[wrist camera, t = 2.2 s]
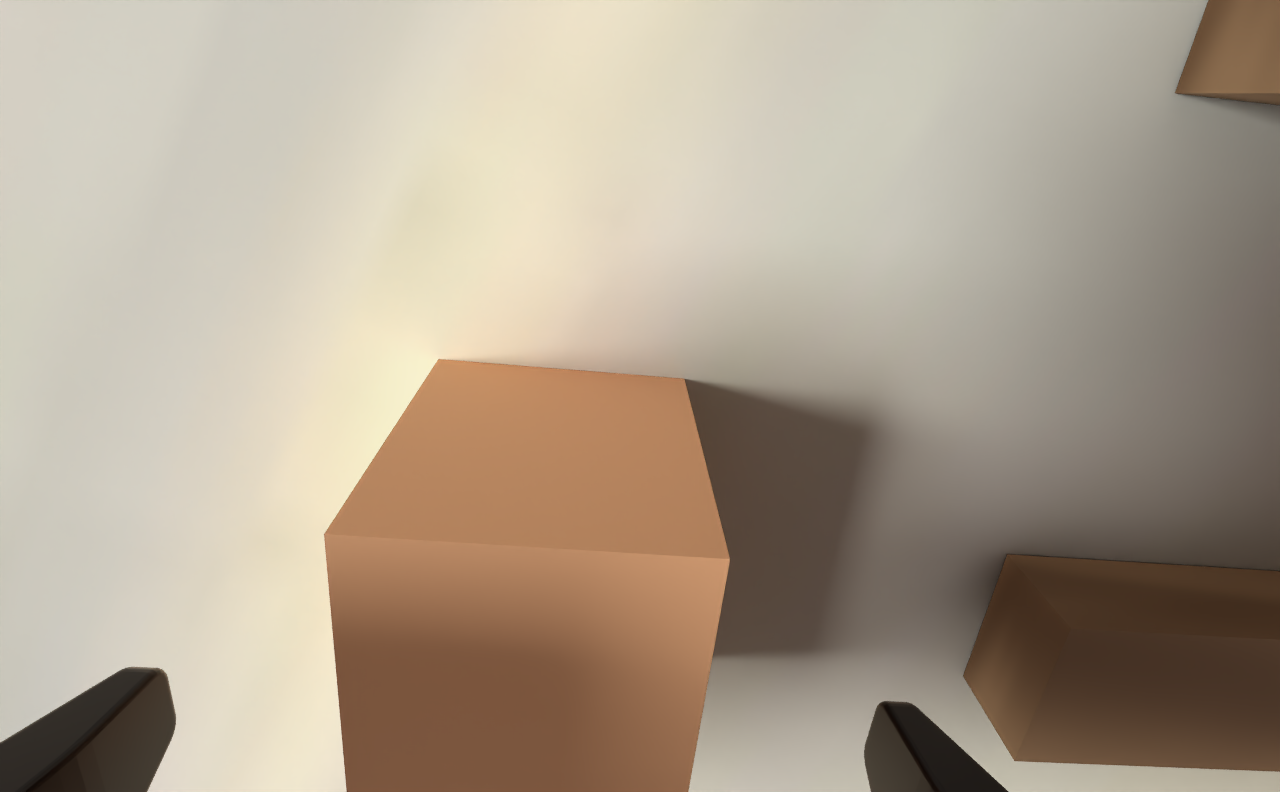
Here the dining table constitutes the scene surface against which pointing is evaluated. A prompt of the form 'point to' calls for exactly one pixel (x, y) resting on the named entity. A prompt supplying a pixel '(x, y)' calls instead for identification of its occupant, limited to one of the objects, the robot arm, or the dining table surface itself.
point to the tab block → (528, 587)
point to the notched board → (1145, 585)
